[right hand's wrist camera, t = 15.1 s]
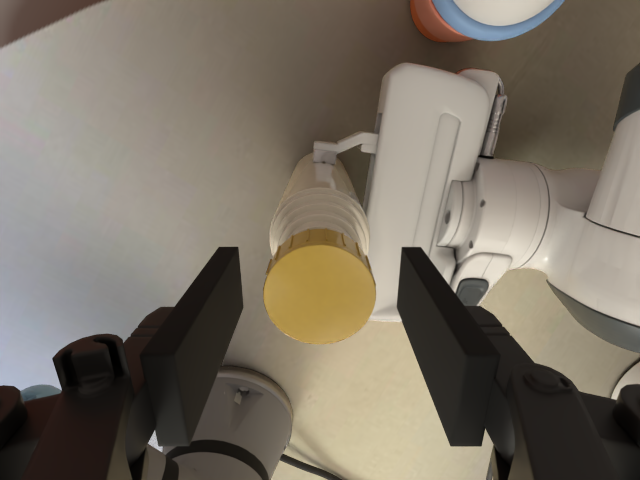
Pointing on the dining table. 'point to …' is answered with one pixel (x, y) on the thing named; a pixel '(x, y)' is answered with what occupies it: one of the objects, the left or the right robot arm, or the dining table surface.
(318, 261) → the cap
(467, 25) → the cup with straw
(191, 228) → the dining table surface
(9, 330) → the dining table surface
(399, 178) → the left robot arm
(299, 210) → the bottle
